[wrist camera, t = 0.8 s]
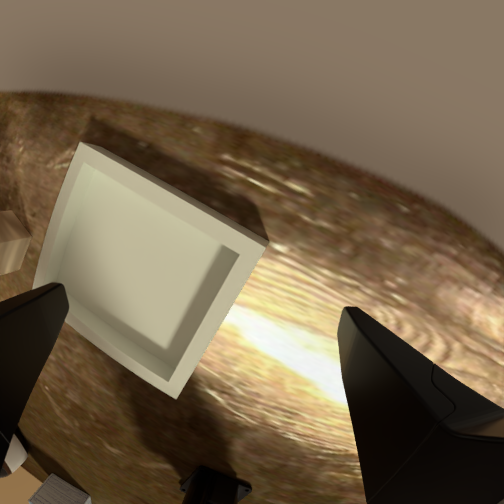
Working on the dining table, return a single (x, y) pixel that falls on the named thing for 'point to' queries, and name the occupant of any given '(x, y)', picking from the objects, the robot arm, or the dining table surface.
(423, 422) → the robot arm
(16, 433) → the spread jar
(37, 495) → the medicine box
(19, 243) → the birch block
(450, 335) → the dining table surface
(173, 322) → the tray
